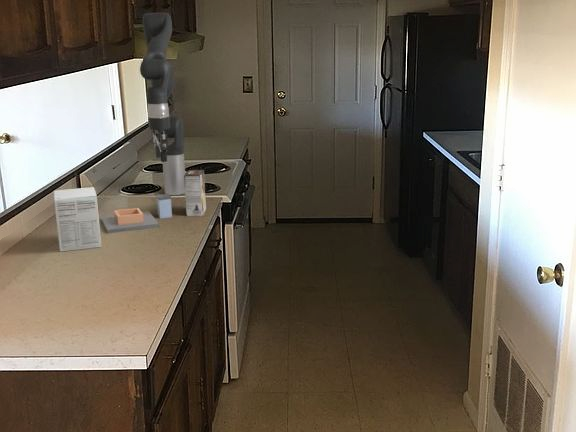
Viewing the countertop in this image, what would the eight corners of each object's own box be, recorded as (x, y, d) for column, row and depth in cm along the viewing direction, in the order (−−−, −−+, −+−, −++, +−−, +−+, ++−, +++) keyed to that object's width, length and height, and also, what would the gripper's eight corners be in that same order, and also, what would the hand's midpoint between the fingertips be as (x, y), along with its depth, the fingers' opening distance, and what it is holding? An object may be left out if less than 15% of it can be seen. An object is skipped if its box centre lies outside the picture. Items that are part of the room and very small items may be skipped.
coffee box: (190, 209, 254) (187, 169, 250) (206, 209, 254) (204, 169, 250) (186, 216, 245) (183, 174, 241) (203, 216, 245) (200, 174, 241)
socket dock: (100, 219, 242) (99, 209, 241) (149, 214, 248) (148, 203, 247) (107, 233, 226) (106, 221, 225) (158, 226, 233) (158, 215, 231)
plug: (157, 215, 247) (156, 195, 245) (169, 213, 249) (168, 193, 246) (160, 218, 243) (158, 197, 241) (172, 216, 245) (170, 196, 242)
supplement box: (102, 247, 211) (97, 195, 206) (59, 252, 207) (53, 199, 202) (99, 235, 223) (94, 186, 218) (58, 240, 219) (52, 190, 214)
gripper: (144, 114, 240) (147, 157, 245) (152, 118, 228) (155, 164, 232) (164, 113, 243) (167, 155, 248) (173, 117, 230) (176, 162, 235)
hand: (161, 159), depth 240 cm, fingers open, 8 cm apart
